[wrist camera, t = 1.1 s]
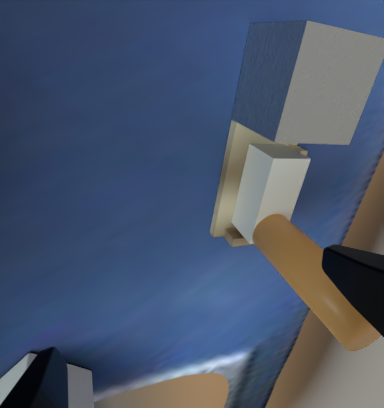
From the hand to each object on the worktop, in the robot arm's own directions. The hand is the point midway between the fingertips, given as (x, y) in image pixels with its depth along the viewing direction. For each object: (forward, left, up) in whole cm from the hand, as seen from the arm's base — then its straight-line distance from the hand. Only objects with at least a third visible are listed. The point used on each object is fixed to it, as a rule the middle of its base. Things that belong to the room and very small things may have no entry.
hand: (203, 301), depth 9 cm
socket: (+3, +12, -13) cm, 18 cm away
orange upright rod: (+9, +6, -13) cm, 16 cm away
